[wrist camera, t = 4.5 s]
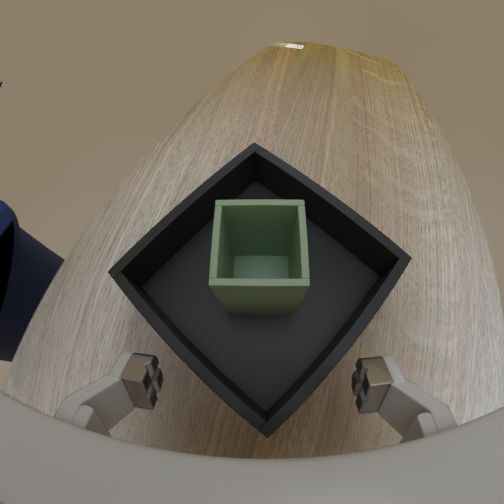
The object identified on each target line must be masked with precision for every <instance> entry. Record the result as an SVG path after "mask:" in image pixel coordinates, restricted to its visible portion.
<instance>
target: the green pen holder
mask: <svg viewBox="0 0 504 504" xmlns="http://www.w3.org/2000/svg"><path fill="white" fill-rule="evenodd" d="M309 278H310V275H309V257H308V241H307V227H306V214H305V202H304V200H279V199H247V200H216V202H215V212H214V223H213V234H212V246H211V258H210V272H209V287H210V288H211V290H212V291H213V293H214V294H215V296H216V297H217V299H218V300H219V302H220V304H221V305H222V307H223V308H224V310H225V311H226V313H227V314H228V315H294V314H295V312H296V310H297V308H298V306H299V305H300V303H301V301H302V299H303V297H304V296H305V294H306V292H307V290H308V288H309V286H310V279H309Z"/></svg>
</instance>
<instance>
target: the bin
mask: <svg viewBox="0 0 504 504" xmlns="http://www.w3.org/2000/svg"><path fill="white" fill-rule="evenodd" d="M247 199H279V200H304V202H305V214H306V227H307V241H308V257H309V275H310V278H309V279H310V286H309V288H308V290H307V292H306V294H305V296H304V297H303V299H302V301H301V303H300V305H299V306H298V308H297V310H296V312H295V314H294V315H228V314H227V313H226V311H225V310H224V308H223V307H222V305H221V304H220V302H219V300H218V299H217V297H216V296H215V294H214V293H213V291H212V290H211V288H210V287H209V272H210V258H211V246H212V234H213V223H214V212H215V202H216V200H247ZM410 260H411V257H410V256H409V255H408V254H407V253H406V252H404V251H403V250H402V249H401V248H400V247H399V246H397V245H396V244H395V243H394V242H393V241H392V240H390V239H389V238H388V237H387V236H385V235H384V234H383V233H382V232H381V231H379V230H378V229H377V228H376V227H374V226H373V225H372V224H371V223H369V222H368V221H367V220H365V219H364V218H363V217H362V216H360V215H359V214H358V213H356V212H355V211H354V210H352V209H351V208H350V207H348V206H347V205H346V204H344V203H343V202H342V201H340V200H339V199H338V198H336V197H335V196H334V195H332V194H331V193H329V192H328V191H327V190H325V189H324V188H322V187H321V186H320V185H318V184H317V183H315V182H314V181H312V180H311V179H310V178H308V177H307V176H305V175H304V174H302V173H301V172H299V171H298V170H296V169H295V168H293V167H292V166H290V165H289V164H287V163H286V162H284V161H283V160H281V159H280V158H278V157H277V156H275V155H274V154H272V153H270V152H269V151H267V150H266V149H264V148H262V147H261V146H259V145H257V144H256V143H253V144H251V145H250V146H249V147H248V148H246V149H245V150H244V151H242V152H241V153H240V154H239V155H237V156H236V157H235V158H233V159H232V160H231V161H230V162H228V163H227V164H226V165H225V166H223V167H222V168H221V169H220V170H219V171H217V172H216V173H215V174H214V175H212V176H211V177H210V178H209V179H208V180H206V181H205V182H204V183H203V184H202V185H200V186H199V187H198V188H197V189H196V190H195V191H193V192H192V193H191V194H190V195H189V196H188V197H186V198H185V199H184V200H183V201H182V202H181V203H180V204H178V205H177V206H176V207H175V208H174V209H173V210H172V211H171V212H169V213H168V214H167V215H166V216H165V217H164V218H163V219H162V220H161V221H160V222H158V223H157V224H156V225H155V226H154V227H153V228H152V229H151V230H150V231H149V232H148V233H147V234H146V235H145V236H143V237H142V238H141V239H140V240H139V241H138V242H137V243H136V244H135V245H134V246H133V247H132V248H131V249H130V250H129V251H128V252H127V253H126V254H125V255H124V256H123V257H122V258H121V259H120V260H119V261H118V262H117V263H116V264H115V265H114V266H113V267H112V268H111V269H110V270H109V271H108V273H109V274H110V275H111V277H112V278H113V279H114V281H115V282H116V283H117V284H118V286H119V287H120V288H121V290H122V291H123V292H124V294H125V295H126V296H127V297H128V299H129V300H130V301H131V302H132V304H133V305H134V306H135V307H136V308H137V310H138V311H139V312H140V313H141V314H142V316H143V317H144V318H145V319H146V320H147V322H148V323H149V324H150V325H151V326H152V327H153V329H154V330H155V331H156V332H157V333H158V334H159V335H160V337H161V338H162V339H163V340H164V341H165V342H166V343H167V344H168V345H169V346H170V348H171V349H172V350H173V351H174V352H175V353H176V354H177V355H178V356H179V357H180V358H181V359H182V360H183V361H184V362H185V363H186V364H187V366H188V367H189V368H190V369H191V370H192V371H193V372H194V373H195V374H196V375H197V376H198V377H199V378H200V379H201V380H202V381H203V382H204V383H205V384H207V385H208V386H209V387H210V388H211V389H212V390H213V391H214V392H215V393H216V394H217V395H218V396H219V397H220V398H221V399H222V400H223V401H225V402H226V403H227V404H228V405H229V406H230V407H231V408H232V409H233V410H235V411H236V412H237V413H238V414H239V415H240V416H241V417H243V418H244V419H245V420H246V421H247V422H248V423H250V424H251V425H252V426H253V427H254V428H256V429H257V430H258V431H259V432H260V433H261V434H263V435H264V436H265V437H266V438H268V437H269V436H270V435H271V434H272V433H274V432H275V431H276V430H277V429H278V428H279V427H280V426H281V425H282V424H283V423H284V422H285V421H286V420H287V419H288V418H289V417H290V416H291V415H292V414H293V413H294V412H295V411H296V410H297V409H298V407H299V406H300V405H301V404H302V403H303V402H304V401H305V400H306V399H307V398H308V397H309V396H310V395H311V394H312V392H313V391H314V390H315V389H316V388H317V387H318V386H319V385H320V383H321V382H322V381H323V380H324V379H325V378H326V377H327V375H328V374H329V373H330V372H331V371H332V370H333V368H334V367H335V366H336V365H337V364H338V362H339V361H340V360H341V359H342V357H343V356H344V355H345V354H346V352H347V351H348V350H349V349H350V347H351V346H352V345H353V344H354V342H355V341H356V340H357V338H358V337H359V336H360V334H361V333H362V332H363V330H364V329H365V328H366V326H367V325H368V324H369V322H370V321H371V319H372V318H373V317H374V315H375V314H376V312H377V311H378V310H379V308H380V307H381V305H382V304H383V302H384V301H385V299H386V298H387V296H388V295H389V293H390V292H391V290H392V289H393V287H394V286H395V284H396V283H397V281H398V280H399V278H400V276H401V275H402V273H403V272H404V270H405V268H406V267H407V265H408V263H409V262H410Z"/></svg>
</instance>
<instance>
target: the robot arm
mask: <svg viewBox="0 0 504 504" xmlns="http://www.w3.org/2000/svg"><path fill="white" fill-rule="evenodd" d="M1 84H2V82H1V83H0V87H1ZM158 364H159V361H158V358H157V357H156V356H153V355H147V354H140V353H132V352H127V351H123V352H122V353H121V354H120V356H119V358H118V359H117V361H116V363H115V364H114V366H113V368H112V370H111V371H110V373H109V375H108V376H103V377H101V378H100V379H98V380H96V381H94V382H93V383H91V384H89V385H87V386H85V387H84V388H82V389H80V390H78V391H77V392H75V393H73V394H71V395H69V396H68V397H66V398H65V399H64V401H63V402H62V404H61V406H60V407H59V409H58V410H57V412H56V414H55V416H54V417H52V416H50V415H48V414H45V413H43V412H41V411H39V410H37V409H34V408H32V407H30V406H28V405H26V404H24V403H22V402H20V401H18V400H16V399H14V398H12V397H10V396H9V395H7V394H5V393H3V392H1V391H0V504H504V406H503V407H501V408H499V409H497V410H495V411H493V412H491V413H488V414H486V415H484V416H482V417H479V418H477V419H475V420H472V421H470V422H467V423H465V424H462V425H459V426H458V425H457V423H456V421H455V419H454V417H453V415H452V413H451V411H450V409H449V407H448V405H446V404H444V403H443V402H441V401H440V400H438V399H437V398H435V397H433V396H432V395H430V394H429V393H427V392H426V391H424V390H423V389H421V388H419V387H418V386H416V385H415V384H413V383H412V382H410V381H406V380H405V378H404V376H403V374H402V372H401V370H400V368H399V366H398V364H397V362H396V360H395V358H394V356H393V355H386V356H381V357H380V356H378V357H370V358H360V359H358V360H357V363H356V368H357V370H356V371H355V372H354V373H353V376H352V384H351V385H352V391H353V394H354V395H355V396H356V397H357V399H356V406H357V409H358V413H359V414H364V413H373V412H378V414H379V415H380V416H381V417H383V418H384V419H385V420H386V421H387V422H388V423H389V424H390V425H391V426H392V427H393V428H394V429H395V430H396V431H397V432H398V433H399V434H400V435H401V436H403V438H402V440H401V441H400V442H399V444H396V445H391V446H387V447H382V448H377V449H372V450H366V451H360V452H354V453H347V454H339V455H331V456H320V457H308V458H288V459H249V458H229V457H216V456H206V455H197V454H190V453H183V452H176V451H170V450H165V449H159V448H154V447H149V446H145V445H140V444H136V443H132V442H128V441H124V440H120V439H116V438H113V437H112V436H111V435H110V434H109V432H108V430H109V429H111V428H112V427H113V426H114V425H116V424H117V423H118V422H119V421H120V420H122V419H123V418H124V417H125V416H126V415H128V414H129V413H130V412H131V411H132V410H133V409H135V407H137V408H143V409H150V410H154V407H155V404H156V401H157V399H158V398H157V396H156V393H158V392H159V391H160V390H161V388H162V383H163V375H162V371H161V369H160V368H158V367H157V366H158Z"/></svg>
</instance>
